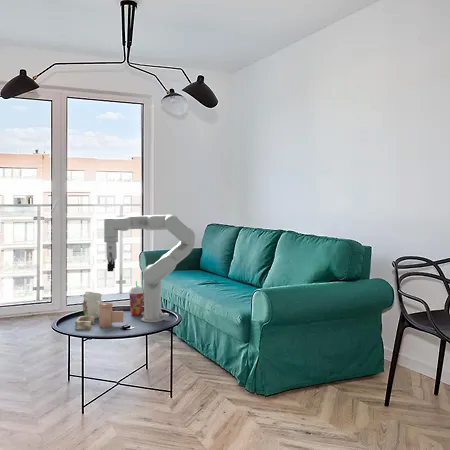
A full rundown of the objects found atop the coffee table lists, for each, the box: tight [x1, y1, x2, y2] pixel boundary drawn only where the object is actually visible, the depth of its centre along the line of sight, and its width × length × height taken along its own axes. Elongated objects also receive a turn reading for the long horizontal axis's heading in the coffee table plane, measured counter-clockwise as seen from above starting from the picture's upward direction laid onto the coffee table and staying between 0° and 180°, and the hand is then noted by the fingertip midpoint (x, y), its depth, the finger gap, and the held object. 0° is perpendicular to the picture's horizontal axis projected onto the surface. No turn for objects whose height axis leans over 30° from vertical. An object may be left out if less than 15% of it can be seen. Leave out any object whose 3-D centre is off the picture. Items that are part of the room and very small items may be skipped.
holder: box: [74, 315, 95, 330], centre depth 274 cm, size 8×11×4 cm
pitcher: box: [82, 291, 103, 320], centre depth 291 cm, size 11×18×14 cm, turn 39°
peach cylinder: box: [98, 302, 125, 329], centre depth 275 cm, size 13×8×12 cm, turn 95°
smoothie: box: [128, 280, 144, 317], centre depth 299 cm, size 8×8×20 cm
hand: (111, 269), depth 284 cm, fingers open, 9 cm apart
